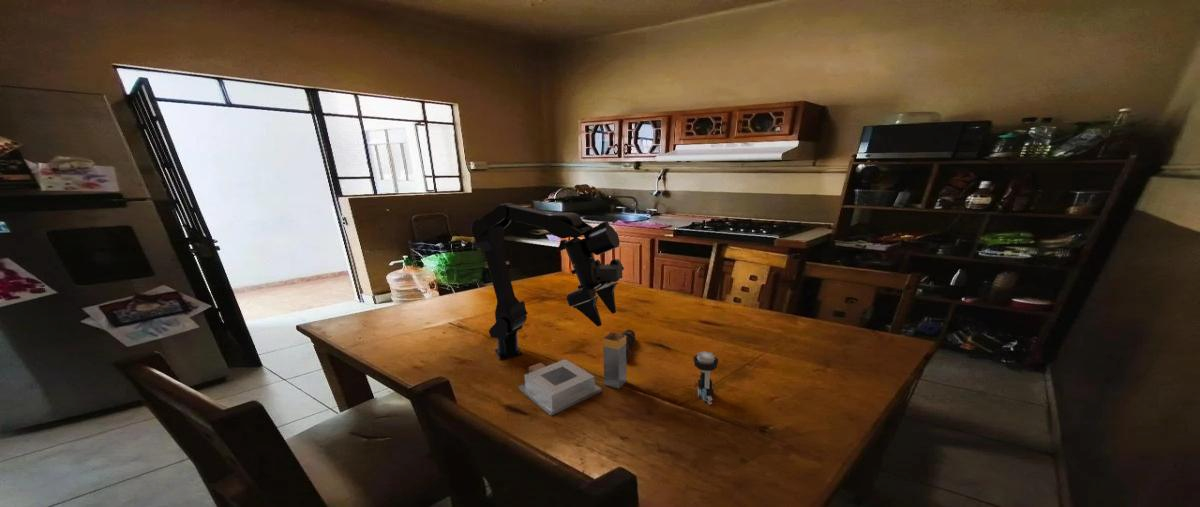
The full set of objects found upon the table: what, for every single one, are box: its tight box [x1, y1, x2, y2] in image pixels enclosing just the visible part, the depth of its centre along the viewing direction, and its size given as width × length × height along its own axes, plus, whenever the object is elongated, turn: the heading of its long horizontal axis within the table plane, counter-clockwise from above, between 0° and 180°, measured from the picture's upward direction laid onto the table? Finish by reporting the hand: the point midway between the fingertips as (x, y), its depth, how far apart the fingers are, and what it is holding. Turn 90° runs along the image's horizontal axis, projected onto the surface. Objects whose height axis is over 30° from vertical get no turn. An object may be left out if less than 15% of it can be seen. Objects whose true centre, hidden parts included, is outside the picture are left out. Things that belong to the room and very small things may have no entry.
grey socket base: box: [518, 358, 602, 417], centre depth 92 cm, size 18×14×4 cm
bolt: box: [621, 329, 637, 363], centre depth 110 cm, size 6×5×15 cm
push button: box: [692, 351, 719, 405], centre depth 85 cm, size 7×5×10 cm
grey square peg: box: [602, 332, 627, 389], centre depth 92 cm, size 4×4×12 cm
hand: (607, 319), depth 95 cm, fingers open, 9 cm apart
